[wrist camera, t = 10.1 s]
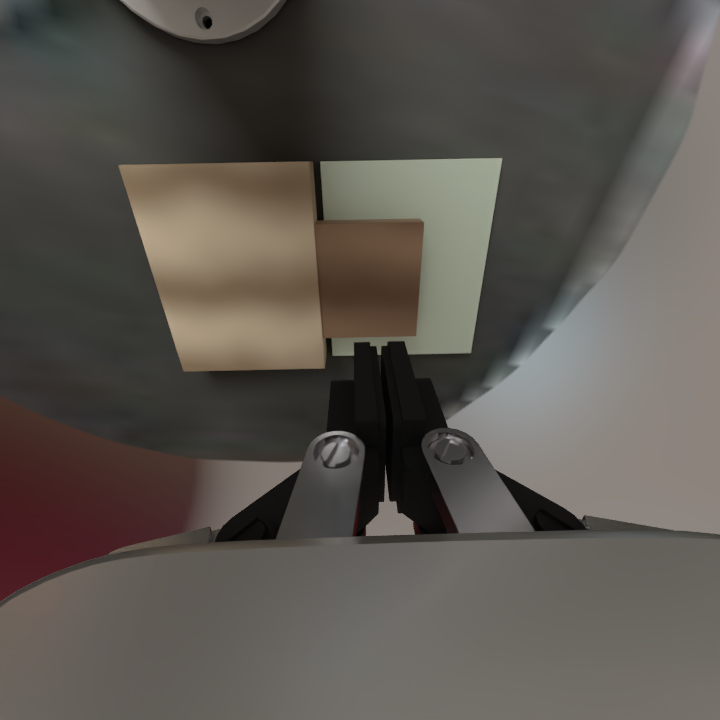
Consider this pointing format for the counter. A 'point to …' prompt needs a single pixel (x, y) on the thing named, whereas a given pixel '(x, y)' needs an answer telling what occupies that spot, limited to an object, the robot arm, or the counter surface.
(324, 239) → the walnut block
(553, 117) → the counter surface
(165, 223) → the birch board
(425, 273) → the sage mat
